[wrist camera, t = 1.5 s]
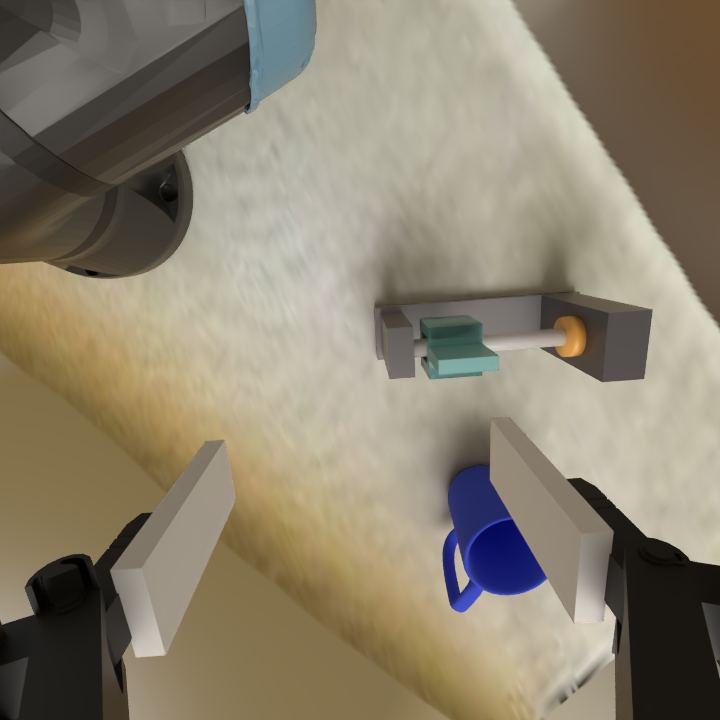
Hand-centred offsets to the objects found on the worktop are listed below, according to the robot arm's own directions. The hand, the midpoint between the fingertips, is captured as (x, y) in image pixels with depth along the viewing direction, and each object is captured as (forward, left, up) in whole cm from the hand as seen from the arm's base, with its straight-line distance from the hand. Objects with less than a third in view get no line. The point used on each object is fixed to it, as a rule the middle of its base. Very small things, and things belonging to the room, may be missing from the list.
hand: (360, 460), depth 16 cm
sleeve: (+4, +6, -19) cm, 20 cm away
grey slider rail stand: (+6, +9, -24) cm, 26 cm away
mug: (+22, -3, -24) cm, 33 cm away
